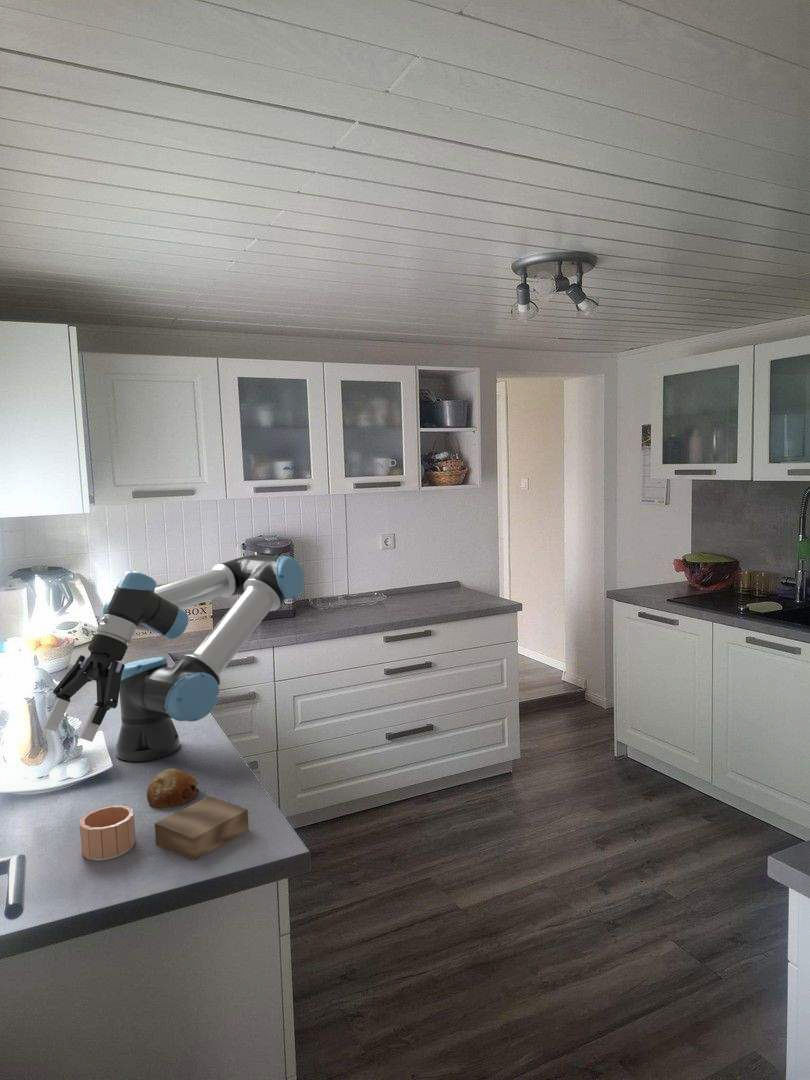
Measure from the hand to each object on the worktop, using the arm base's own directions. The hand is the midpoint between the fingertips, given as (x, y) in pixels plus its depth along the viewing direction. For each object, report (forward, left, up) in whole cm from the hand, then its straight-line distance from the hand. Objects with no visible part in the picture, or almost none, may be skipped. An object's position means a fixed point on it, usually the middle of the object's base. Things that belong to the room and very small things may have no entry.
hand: (66, 734), depth 147 cm
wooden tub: (+5, +21, -16) cm, 27 cm away
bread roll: (-15, +14, -17) cm, 26 cm away
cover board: (-7, +33, -17) cm, 37 cm away
